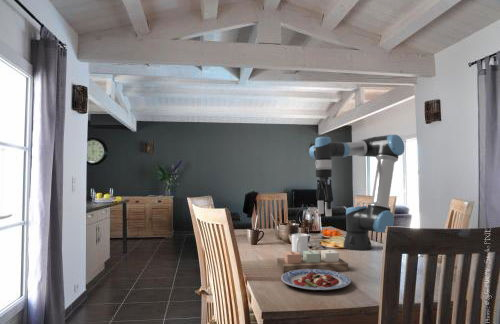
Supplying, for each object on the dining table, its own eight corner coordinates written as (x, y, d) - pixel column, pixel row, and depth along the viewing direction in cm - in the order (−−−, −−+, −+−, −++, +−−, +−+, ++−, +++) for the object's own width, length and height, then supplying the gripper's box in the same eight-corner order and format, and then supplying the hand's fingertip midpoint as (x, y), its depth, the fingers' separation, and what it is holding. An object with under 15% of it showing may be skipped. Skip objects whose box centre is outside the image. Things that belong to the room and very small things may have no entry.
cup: (309, 253, 181) (308, 233, 182) (305, 258, 170) (305, 237, 170) (293, 252, 184) (293, 233, 184) (289, 257, 172) (288, 236, 173)
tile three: (297, 261, 154) (297, 251, 155) (301, 264, 148) (300, 254, 149) (284, 261, 154) (284, 251, 154) (287, 265, 148) (287, 254, 148)
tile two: (315, 260, 155) (315, 250, 156) (320, 263, 149) (319, 253, 150) (303, 261, 155) (302, 250, 155) (306, 264, 149) (306, 253, 149)
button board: (336, 262, 160) (336, 256, 161) (348, 270, 147) (347, 263, 147) (277, 264, 157) (277, 258, 157) (283, 273, 143) (283, 265, 144)
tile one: (334, 259, 156) (333, 249, 156) (338, 262, 150) (338, 252, 151) (321, 260, 156) (321, 250, 156) (325, 263, 150) (325, 253, 150)
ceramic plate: (303, 271, 148) (303, 263, 148) (361, 281, 131) (361, 273, 131) (267, 285, 128) (267, 277, 128) (331, 300, 111) (331, 291, 112)
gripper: (309, 169, 176) (310, 212, 175) (323, 168, 153) (324, 217, 152) (323, 169, 177) (324, 212, 176) (340, 168, 154) (341, 217, 153)
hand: (324, 215), depth 164 cm, fingers open, 11 cm apart
